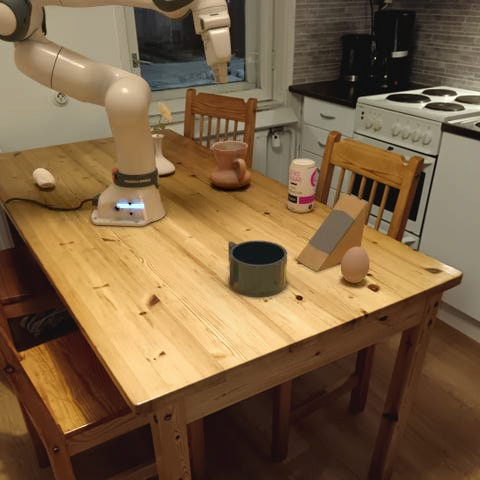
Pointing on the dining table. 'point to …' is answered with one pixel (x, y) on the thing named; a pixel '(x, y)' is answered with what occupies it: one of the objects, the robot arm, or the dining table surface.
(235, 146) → the ceramic jug
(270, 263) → the coffee mug
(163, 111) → the flower in vase
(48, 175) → the roll
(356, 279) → the egg
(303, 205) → the supplement can
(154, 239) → the dining table surface
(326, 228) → the sandwich container
